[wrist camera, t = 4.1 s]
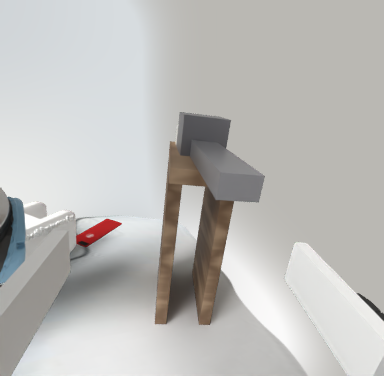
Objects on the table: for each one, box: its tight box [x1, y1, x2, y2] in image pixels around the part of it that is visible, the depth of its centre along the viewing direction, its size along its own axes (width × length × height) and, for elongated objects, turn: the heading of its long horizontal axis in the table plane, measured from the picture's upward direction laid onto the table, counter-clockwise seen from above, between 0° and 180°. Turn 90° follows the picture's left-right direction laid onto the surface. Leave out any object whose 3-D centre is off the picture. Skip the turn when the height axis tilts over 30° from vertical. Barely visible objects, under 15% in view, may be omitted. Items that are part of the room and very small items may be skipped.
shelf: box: [155, 142, 234, 325], centre depth 44 cm, size 10×20×30 cm, turn 5°
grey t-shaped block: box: [176, 112, 265, 202], centre depth 32 cm, size 7×25×6 cm, turn 8°
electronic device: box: [76, 219, 122, 247], centre depth 69 cm, size 6×1×15 cm
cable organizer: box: [23, 201, 76, 260], centre depth 52 cm, size 15×11×12 cm
